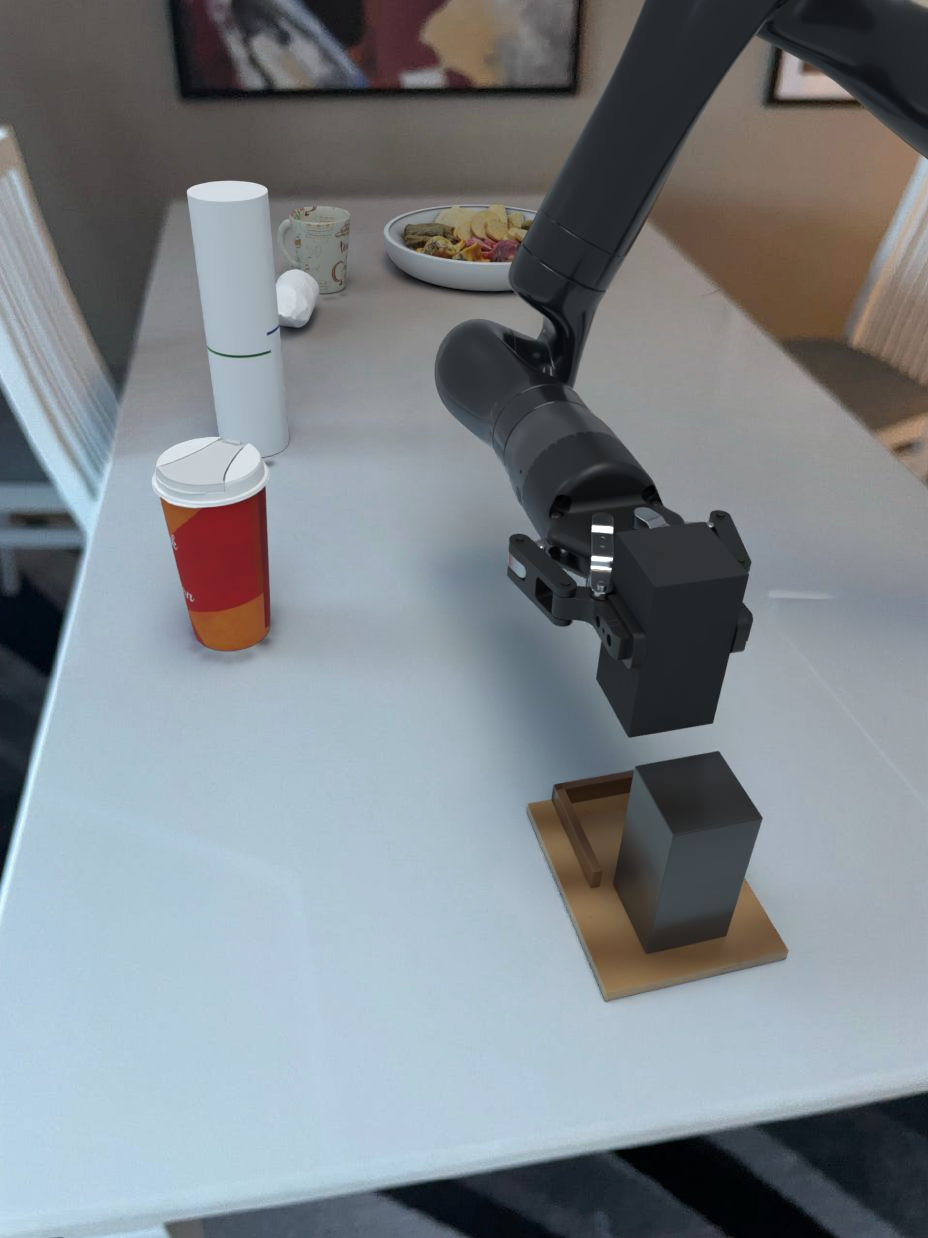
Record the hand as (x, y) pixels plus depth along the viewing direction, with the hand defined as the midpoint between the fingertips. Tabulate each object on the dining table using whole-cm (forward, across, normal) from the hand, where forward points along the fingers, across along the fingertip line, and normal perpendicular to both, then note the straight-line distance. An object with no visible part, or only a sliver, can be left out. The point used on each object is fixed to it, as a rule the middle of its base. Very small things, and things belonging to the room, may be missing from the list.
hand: (690, 646), depth 50 cm
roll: (-94, -10, +18) cm, 96 cm away
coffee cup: (-30, -23, +18) cm, 42 cm away
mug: (-110, -5, +18) cm, 111 cm away
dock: (+1, 0, +18) cm, 18 cm away
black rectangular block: (-3, 0, +6) cm, 7 cm away
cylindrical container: (-62, -18, +18) cm, 67 cm away
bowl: (-114, +21, +18) cm, 117 cm away
